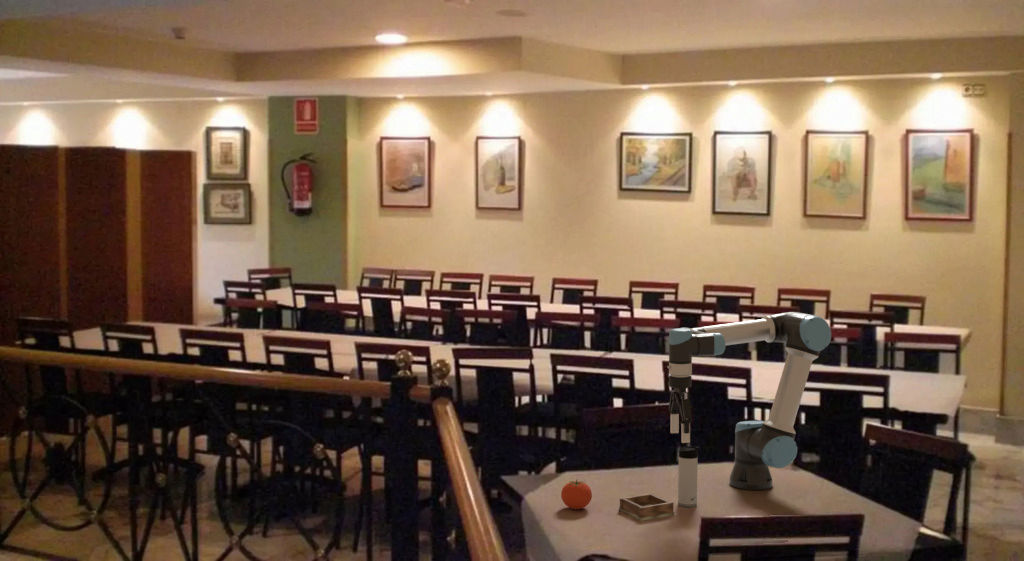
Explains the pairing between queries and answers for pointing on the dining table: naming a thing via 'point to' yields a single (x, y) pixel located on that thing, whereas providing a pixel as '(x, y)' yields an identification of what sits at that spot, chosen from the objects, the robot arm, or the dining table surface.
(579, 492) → the tomato
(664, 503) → the walnut caddy
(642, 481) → the dining table surface
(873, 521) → the dining table surface
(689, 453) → the travel mug
